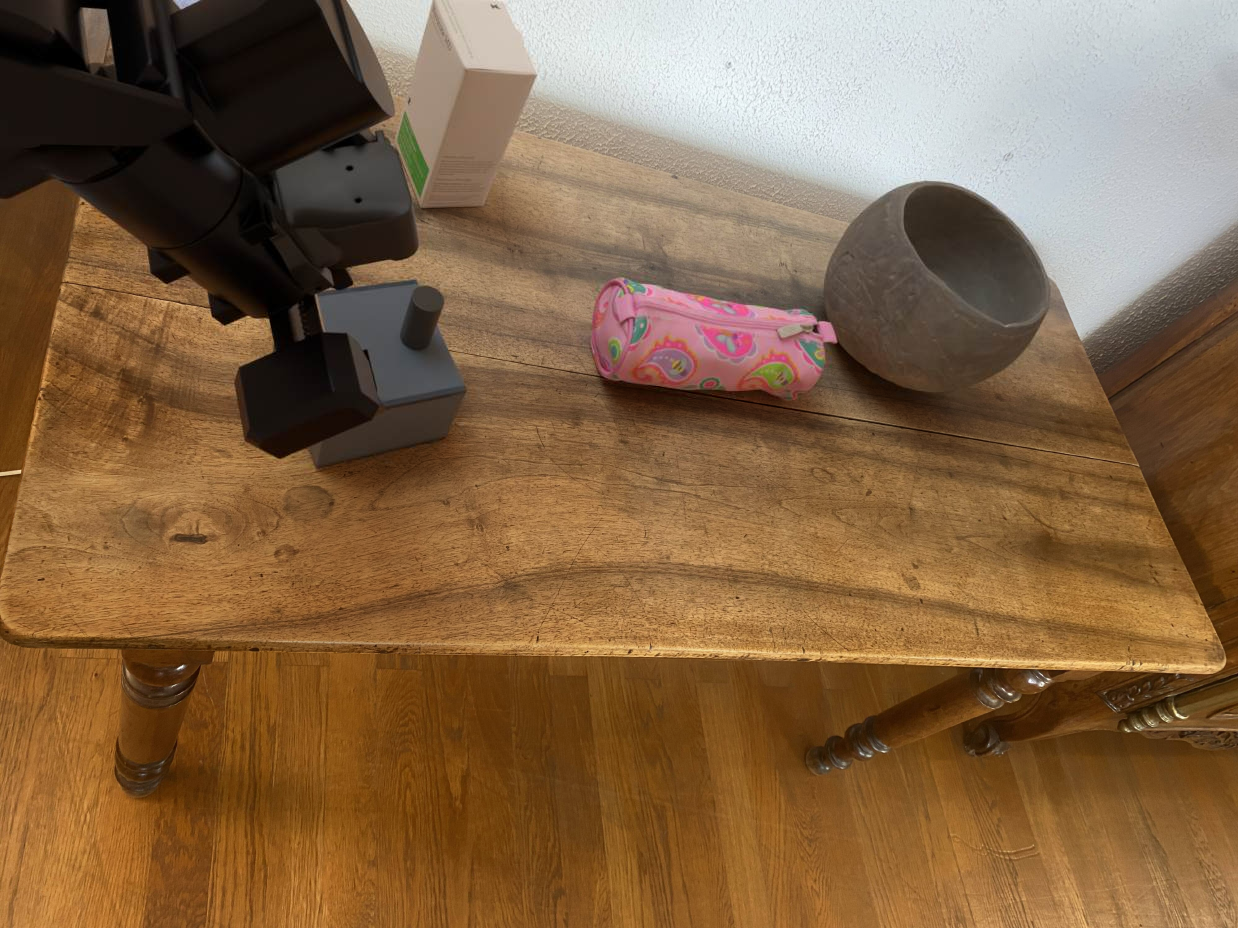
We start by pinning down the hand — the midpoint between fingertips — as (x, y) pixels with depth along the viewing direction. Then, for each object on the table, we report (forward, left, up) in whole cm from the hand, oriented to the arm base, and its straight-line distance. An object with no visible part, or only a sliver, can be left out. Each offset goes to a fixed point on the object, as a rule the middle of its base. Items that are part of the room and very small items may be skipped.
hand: (361, 346), depth 53 cm
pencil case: (+32, -8, -14) cm, 36 cm away
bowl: (+56, -16, -14) cm, 60 cm away
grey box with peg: (-1, +4, -8) cm, 9 cm away
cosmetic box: (+24, +20, -14) cm, 34 cm away
